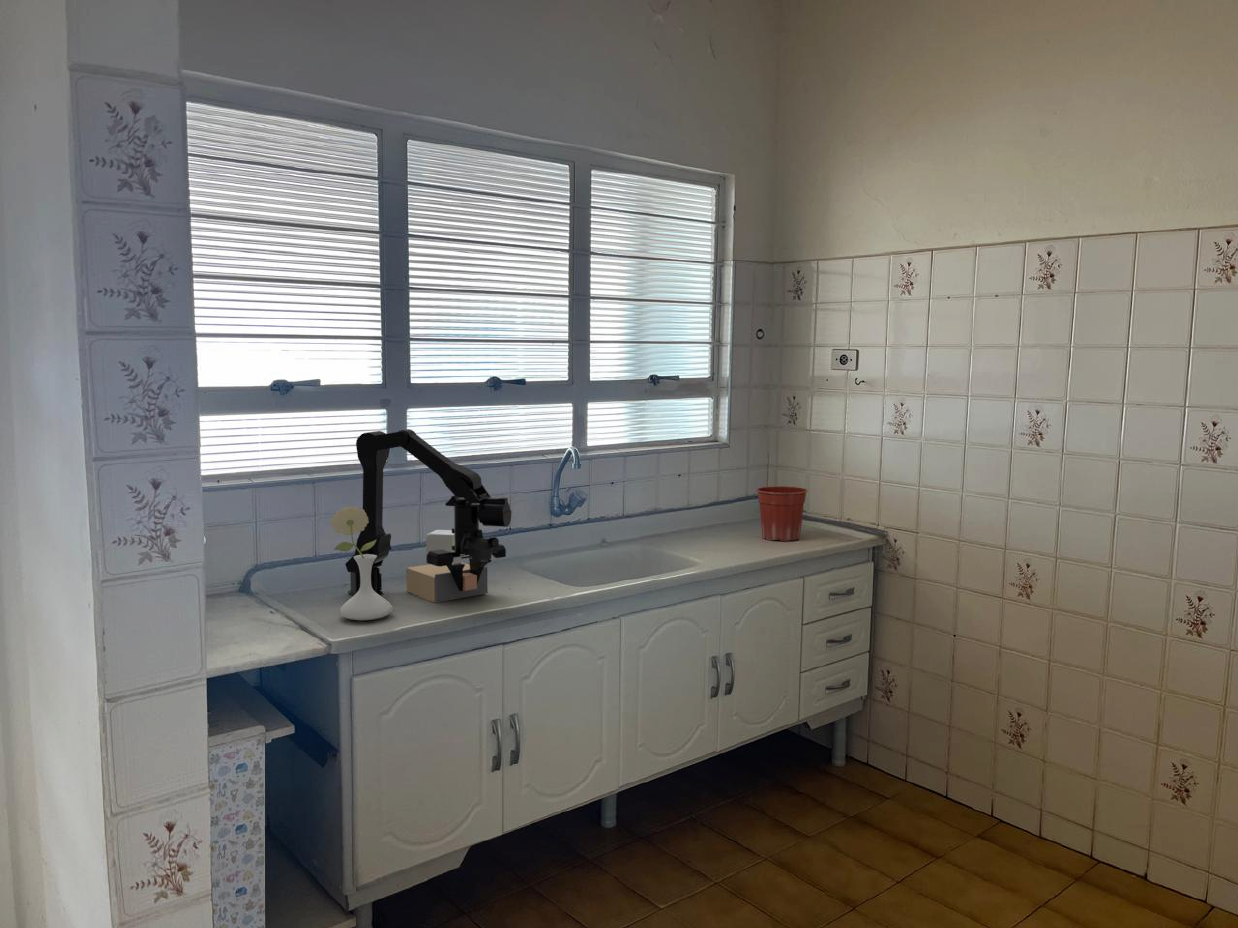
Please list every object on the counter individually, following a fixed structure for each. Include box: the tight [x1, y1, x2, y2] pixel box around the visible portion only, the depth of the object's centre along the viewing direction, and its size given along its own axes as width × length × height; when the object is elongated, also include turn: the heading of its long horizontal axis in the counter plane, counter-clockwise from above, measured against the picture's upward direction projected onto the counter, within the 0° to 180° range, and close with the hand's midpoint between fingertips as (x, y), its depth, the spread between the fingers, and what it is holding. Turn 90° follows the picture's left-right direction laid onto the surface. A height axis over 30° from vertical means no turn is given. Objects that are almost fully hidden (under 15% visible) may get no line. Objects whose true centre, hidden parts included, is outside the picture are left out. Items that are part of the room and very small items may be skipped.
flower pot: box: [755, 485, 809, 542], centre depth 312 cm, size 16×16×16 cm
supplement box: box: [425, 529, 463, 565], centre depth 251 cm, size 7×7×13 cm
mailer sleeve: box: [405, 561, 487, 604], centre depth 237 cm, size 14×14×6 cm
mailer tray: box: [435, 566, 489, 603], centre depth 235 cm, size 14×19×6 cm
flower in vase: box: [330, 505, 394, 621], centre depth 212 cm, size 13×11×25 cm
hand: (467, 589), depth 229 cm, fingers closed on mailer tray, 3 cm apart
